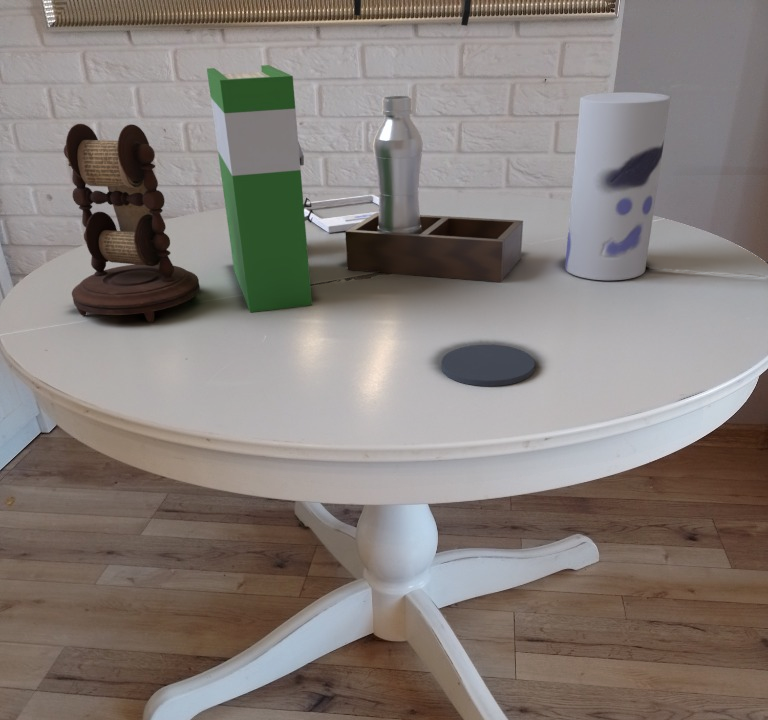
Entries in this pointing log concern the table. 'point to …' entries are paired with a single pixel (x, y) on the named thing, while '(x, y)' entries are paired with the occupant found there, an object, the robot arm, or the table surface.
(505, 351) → the coaster
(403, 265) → the wooden compartment box
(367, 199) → the photo frame
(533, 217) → the table surface
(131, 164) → the scroll
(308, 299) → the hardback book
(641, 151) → the container
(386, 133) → the silver bottle
